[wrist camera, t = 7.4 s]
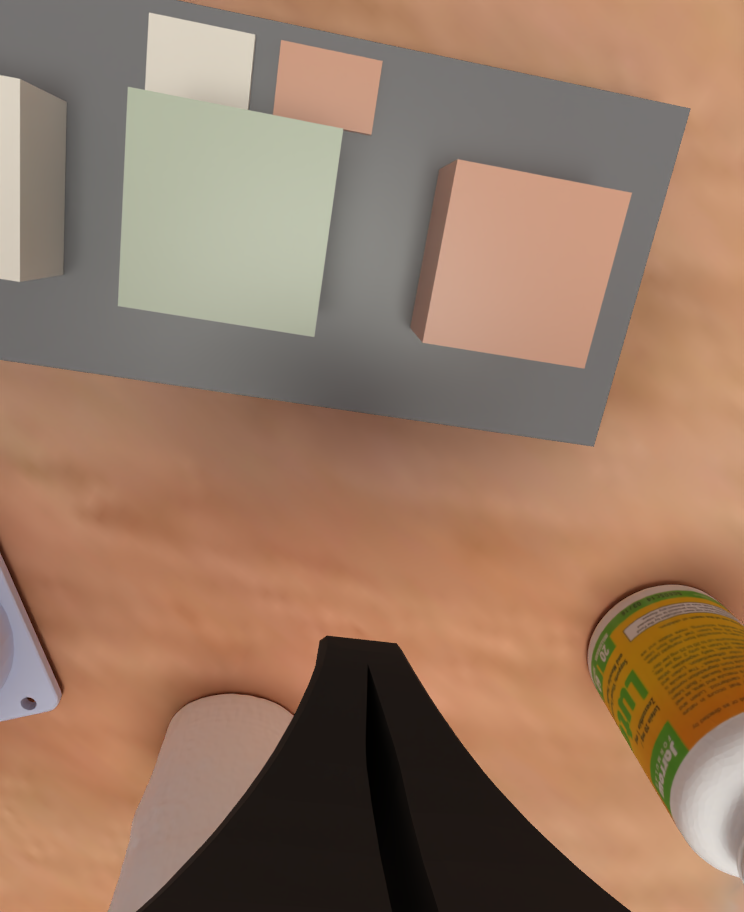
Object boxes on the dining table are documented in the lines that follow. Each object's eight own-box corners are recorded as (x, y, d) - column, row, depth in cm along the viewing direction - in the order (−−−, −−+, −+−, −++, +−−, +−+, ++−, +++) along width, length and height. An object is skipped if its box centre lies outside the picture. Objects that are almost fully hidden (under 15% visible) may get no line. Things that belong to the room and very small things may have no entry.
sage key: (149, 294, 16) (117, 306, 13) (160, 110, 14) (127, 86, 12) (316, 321, 16) (314, 336, 14) (341, 144, 15) (343, 128, 13)
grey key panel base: (-129, 322, 19) (-186, 334, 17) (-155, -47, 16) (-227, -88, 14) (570, 427, 21) (596, 448, 19) (653, 121, 18) (694, 107, 16)
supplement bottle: (567, 609, 23) (722, 852, 14) (714, 559, 23) (967, 774, 14) (602, 723, 25) (759, 1005, 16) (738, 678, 25) (978, 938, 16)
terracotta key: (410, 328, 18) (422, 342, 15) (439, 169, 17) (457, 159, 14) (551, 350, 18) (584, 368, 16) (589, 198, 17) (632, 193, 15)
